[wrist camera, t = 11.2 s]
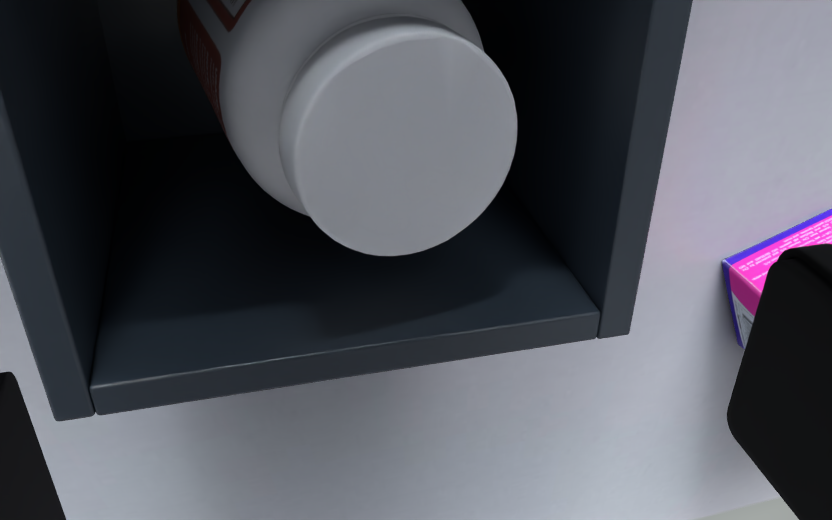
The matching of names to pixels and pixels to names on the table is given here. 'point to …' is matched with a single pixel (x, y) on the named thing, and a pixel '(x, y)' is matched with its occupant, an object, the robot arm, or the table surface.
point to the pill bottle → (359, 111)
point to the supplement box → (765, 268)
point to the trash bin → (297, 233)
